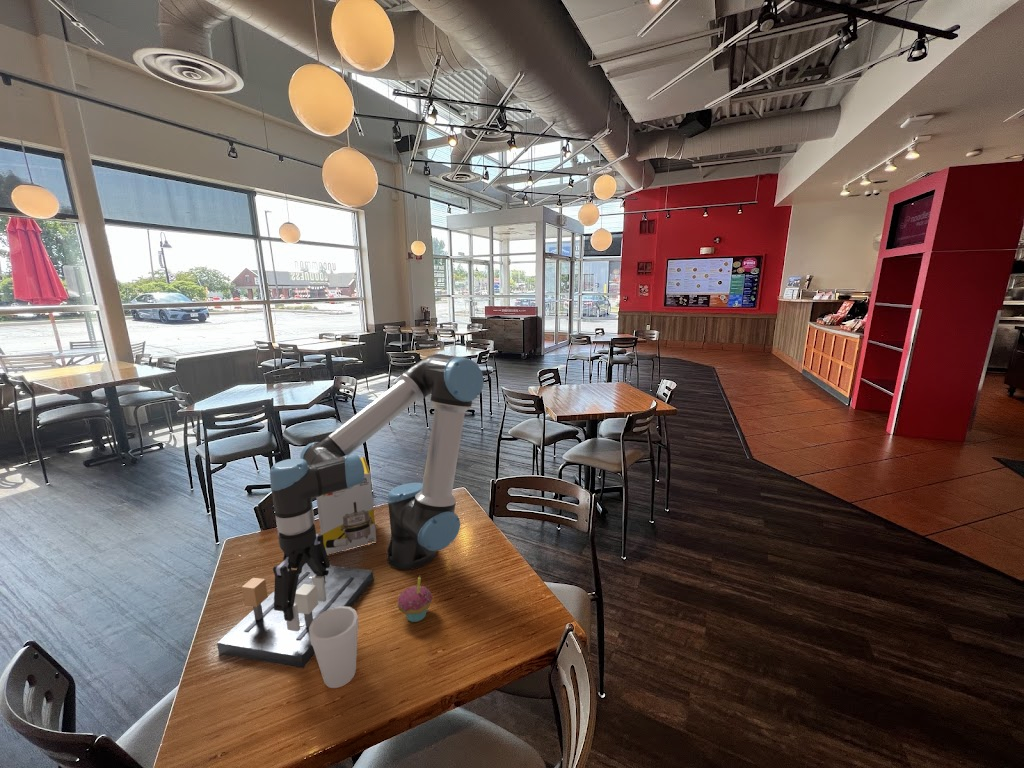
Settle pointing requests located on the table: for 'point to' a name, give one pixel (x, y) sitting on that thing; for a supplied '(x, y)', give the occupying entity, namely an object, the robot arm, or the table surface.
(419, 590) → the cupcake
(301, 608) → the fader cream
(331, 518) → the packaging box
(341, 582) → the fader console
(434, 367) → the robot arm
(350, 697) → the table surface
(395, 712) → the table surface
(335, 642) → the foam cup
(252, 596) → the fader orange
